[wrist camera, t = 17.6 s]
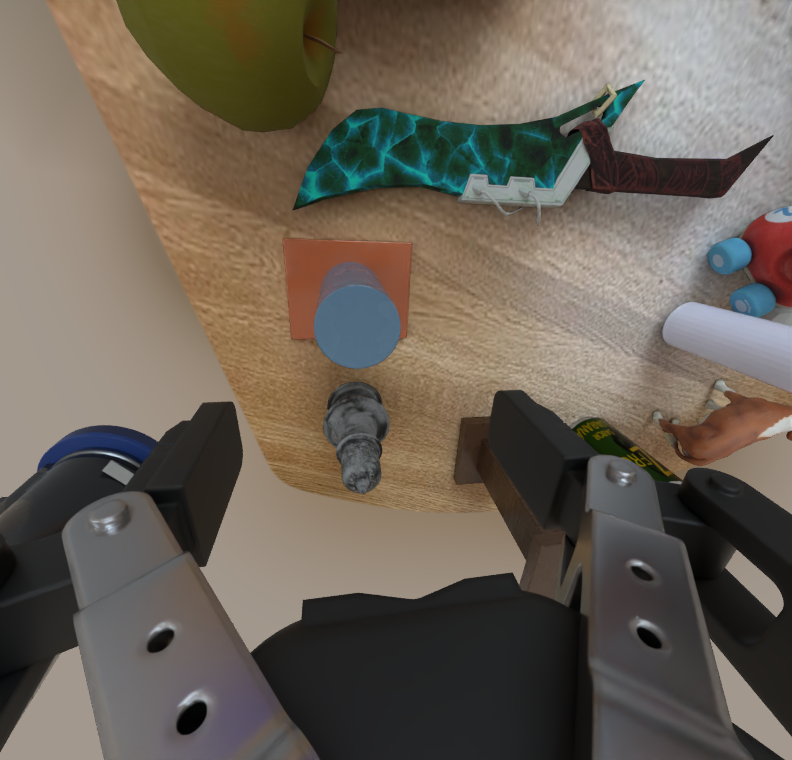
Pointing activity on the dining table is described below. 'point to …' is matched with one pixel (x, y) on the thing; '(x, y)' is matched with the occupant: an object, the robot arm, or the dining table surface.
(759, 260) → the toy car
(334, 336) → the blue cylinder
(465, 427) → the stand
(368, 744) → the robot arm
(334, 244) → the tile
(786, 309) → the bone
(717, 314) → the perfume bottle
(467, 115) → the dining table surface
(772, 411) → the bull figurine
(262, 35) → the apple
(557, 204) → the knife
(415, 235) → the dining table surface
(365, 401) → the chess piece
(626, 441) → the beer can
